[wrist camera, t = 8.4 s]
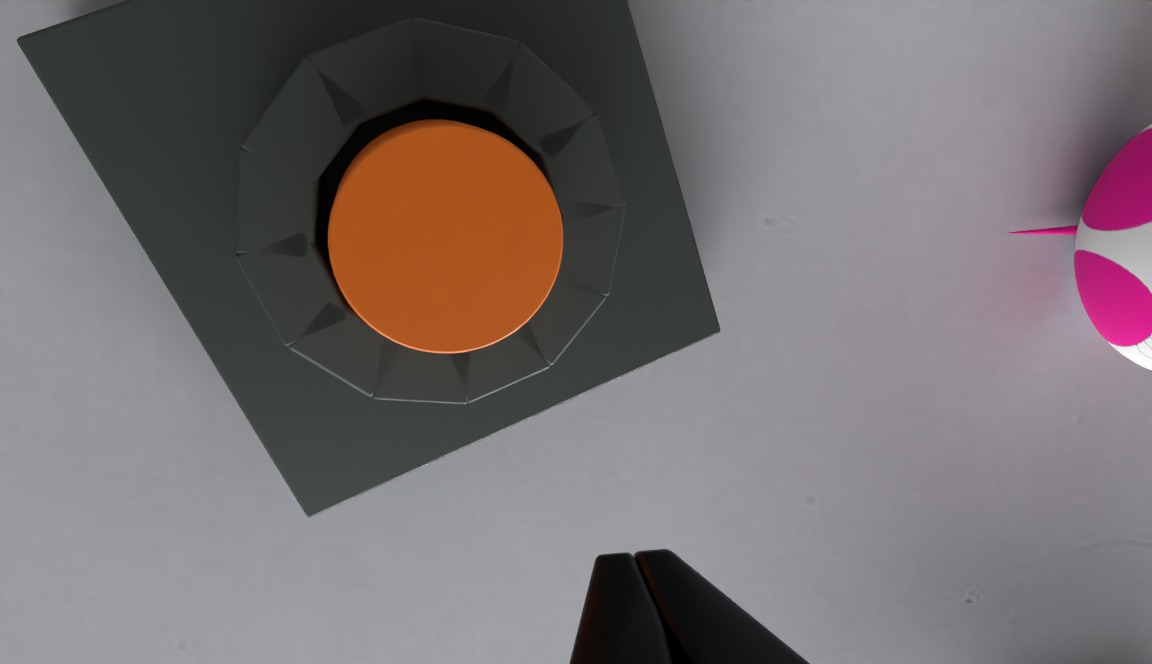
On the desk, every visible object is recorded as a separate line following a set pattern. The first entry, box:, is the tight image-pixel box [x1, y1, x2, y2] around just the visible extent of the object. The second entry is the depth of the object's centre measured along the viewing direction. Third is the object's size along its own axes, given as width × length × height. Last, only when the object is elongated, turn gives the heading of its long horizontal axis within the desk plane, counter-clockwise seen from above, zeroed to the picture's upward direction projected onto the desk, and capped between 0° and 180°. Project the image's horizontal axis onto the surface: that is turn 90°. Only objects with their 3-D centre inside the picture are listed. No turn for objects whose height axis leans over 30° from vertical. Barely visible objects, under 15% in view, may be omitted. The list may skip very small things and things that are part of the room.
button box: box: [17, 0, 720, 517], centre depth 14 cm, size 10×10×4 cm
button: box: [328, 119, 563, 353], centre depth 12 cm, size 4×4×2 cm
